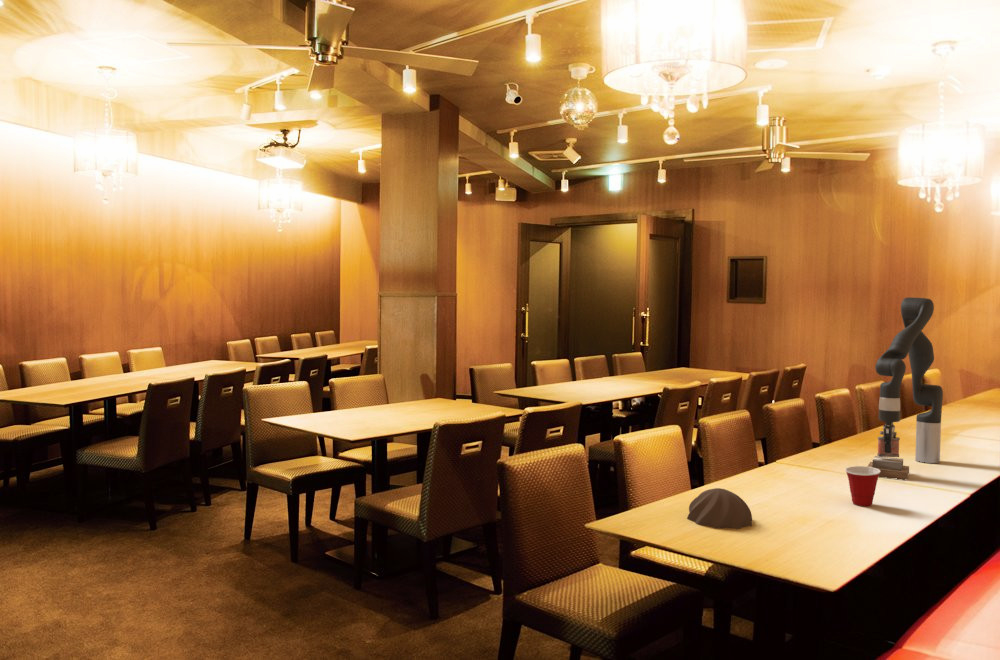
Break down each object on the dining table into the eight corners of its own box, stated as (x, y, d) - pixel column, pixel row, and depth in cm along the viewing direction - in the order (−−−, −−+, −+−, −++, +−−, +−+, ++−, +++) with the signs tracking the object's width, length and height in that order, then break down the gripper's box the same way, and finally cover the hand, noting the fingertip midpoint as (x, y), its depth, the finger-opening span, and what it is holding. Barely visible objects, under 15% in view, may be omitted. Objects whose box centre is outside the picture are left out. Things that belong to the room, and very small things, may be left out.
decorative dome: (705, 531, 218) (706, 497, 218) (676, 513, 237) (677, 481, 237) (765, 528, 222) (766, 495, 221) (732, 510, 241) (732, 479, 241)
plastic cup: (836, 501, 252) (837, 466, 252) (860, 499, 256) (861, 464, 256) (862, 510, 242) (863, 473, 242) (887, 507, 246) (888, 471, 246)
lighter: (896, 455, 296) (897, 430, 296) (900, 457, 292) (901, 432, 292) (875, 455, 297) (876, 430, 296) (879, 456, 293) (879, 431, 293)
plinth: (870, 469, 304) (870, 454, 304) (909, 473, 297) (909, 458, 297) (866, 475, 293) (866, 460, 292) (906, 480, 285) (906, 464, 285)
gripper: (898, 411, 286) (897, 456, 287) (901, 407, 298) (900, 450, 299) (876, 410, 290) (875, 453, 291) (880, 406, 302) (879, 448, 303)
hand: (888, 451), depth 295 cm, fingers closed on lighter, 4 cm apart
